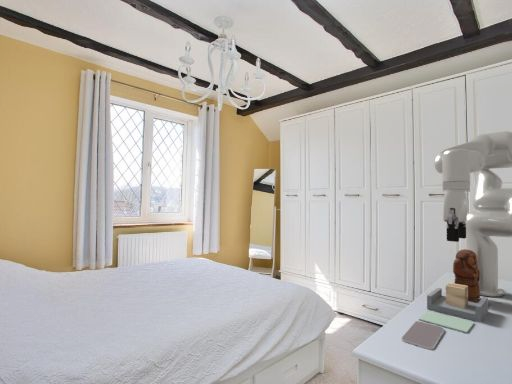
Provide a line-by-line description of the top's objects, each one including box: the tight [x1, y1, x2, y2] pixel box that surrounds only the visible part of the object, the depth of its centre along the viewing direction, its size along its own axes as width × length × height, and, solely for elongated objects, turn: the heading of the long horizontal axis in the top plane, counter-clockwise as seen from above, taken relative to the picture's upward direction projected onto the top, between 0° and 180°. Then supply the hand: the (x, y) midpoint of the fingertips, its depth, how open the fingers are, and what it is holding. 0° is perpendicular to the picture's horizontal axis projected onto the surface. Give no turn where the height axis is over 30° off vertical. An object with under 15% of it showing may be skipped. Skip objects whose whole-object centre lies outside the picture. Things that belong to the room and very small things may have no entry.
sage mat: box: [418, 310, 475, 334], centre depth 88 cm, size 9×12×1 cm
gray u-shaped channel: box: [426, 287, 489, 323], centre depth 97 cm, size 12×14×4 cm
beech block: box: [445, 282, 468, 308], centre depth 97 cm, size 5×5×6 cm
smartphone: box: [401, 320, 445, 351], centre depth 79 cm, size 7×1×15 cm
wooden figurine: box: [452, 248, 481, 303], centre depth 107 cm, size 12×6×18 cm, turn 129°
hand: (456, 239), depth 97 cm, fingers open, 9 cm apart
